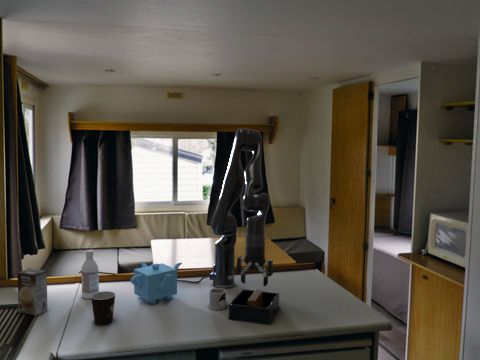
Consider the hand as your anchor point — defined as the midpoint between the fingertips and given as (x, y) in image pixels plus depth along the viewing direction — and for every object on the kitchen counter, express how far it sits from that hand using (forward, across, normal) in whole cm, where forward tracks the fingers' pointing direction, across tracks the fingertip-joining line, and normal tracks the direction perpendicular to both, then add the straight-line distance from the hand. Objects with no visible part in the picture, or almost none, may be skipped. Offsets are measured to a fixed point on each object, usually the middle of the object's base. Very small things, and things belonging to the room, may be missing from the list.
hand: (254, 284), depth 169 cm
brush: (+11, -1, 0) cm, 11 cm away
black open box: (+12, 0, 0) cm, 12 cm away
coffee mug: (+12, +50, +24) cm, 57 cm away
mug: (+12, +16, -3) cm, 20 cm away
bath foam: (+12, +71, +6) cm, 73 cm away
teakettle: (+12, +44, -3) cm, 45 cm away
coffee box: (+12, +82, +27) cm, 87 cm away
